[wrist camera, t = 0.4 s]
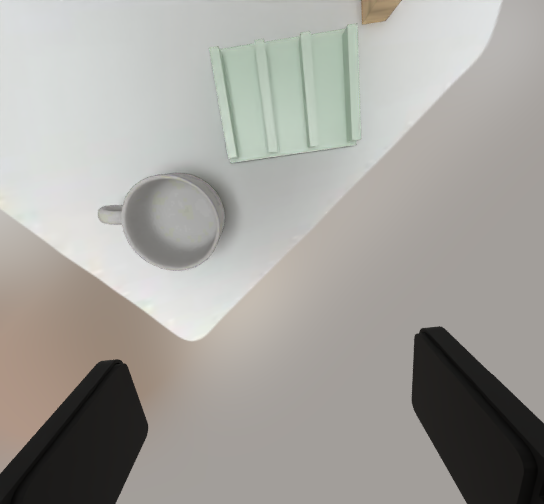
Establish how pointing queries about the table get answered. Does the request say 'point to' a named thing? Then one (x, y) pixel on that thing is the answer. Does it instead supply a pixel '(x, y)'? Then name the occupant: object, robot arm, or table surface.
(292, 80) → the dish rack
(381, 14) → the oak board
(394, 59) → the table surface
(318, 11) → the table surface
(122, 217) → the teacup
